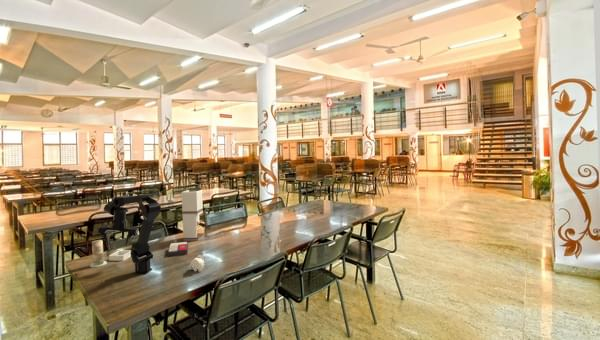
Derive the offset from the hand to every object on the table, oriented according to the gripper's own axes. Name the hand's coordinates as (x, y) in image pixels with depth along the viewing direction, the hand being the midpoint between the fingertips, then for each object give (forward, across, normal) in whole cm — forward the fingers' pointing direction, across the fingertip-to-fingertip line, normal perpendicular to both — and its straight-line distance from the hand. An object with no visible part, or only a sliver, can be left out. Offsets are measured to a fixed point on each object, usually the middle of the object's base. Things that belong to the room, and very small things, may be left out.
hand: (117, 243), depth 167 cm
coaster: (+14, +9, -2) cm, 17 cm away
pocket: (+14, 0, -11) cm, 18 cm away
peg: (+14, +9, -2) cm, 17 cm away
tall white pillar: (+12, -39, -40) cm, 57 cm away
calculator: (+10, -32, -12) cm, 35 cm away
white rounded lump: (+2, -44, +22) cm, 50 cm away
